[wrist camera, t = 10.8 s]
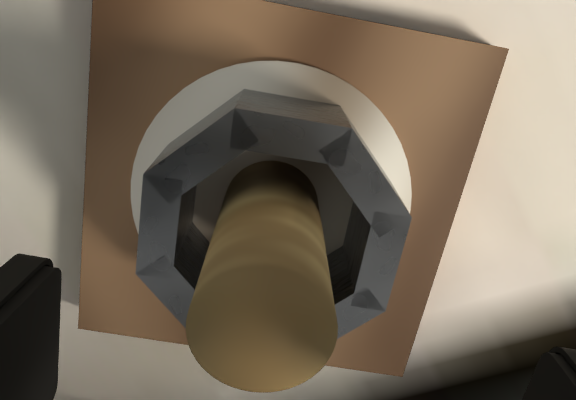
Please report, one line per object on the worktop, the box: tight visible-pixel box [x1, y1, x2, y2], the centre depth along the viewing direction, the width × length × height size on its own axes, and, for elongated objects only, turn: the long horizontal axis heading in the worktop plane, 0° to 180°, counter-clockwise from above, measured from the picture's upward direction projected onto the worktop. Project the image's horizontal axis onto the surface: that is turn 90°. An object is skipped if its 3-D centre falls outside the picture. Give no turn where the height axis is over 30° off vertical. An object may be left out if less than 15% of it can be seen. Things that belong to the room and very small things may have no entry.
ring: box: [135, 89, 412, 339], centre depth 15 cm, size 7×7×3 cm
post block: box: [78, 0, 509, 392], centre depth 14 cm, size 12×12×8 cm
